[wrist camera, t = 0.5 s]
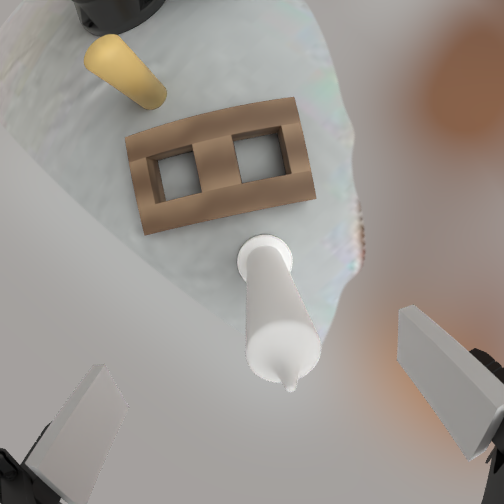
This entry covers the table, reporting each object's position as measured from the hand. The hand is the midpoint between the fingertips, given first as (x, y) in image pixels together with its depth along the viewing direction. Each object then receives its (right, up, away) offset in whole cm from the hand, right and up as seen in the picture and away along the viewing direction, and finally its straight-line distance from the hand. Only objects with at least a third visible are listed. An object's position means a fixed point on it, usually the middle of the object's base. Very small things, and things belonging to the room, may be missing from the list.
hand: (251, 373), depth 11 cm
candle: (+2, +4, +26) cm, 26 cm away
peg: (-13, +26, +21) cm, 36 cm away
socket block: (-4, +16, +23) cm, 28 cm away
